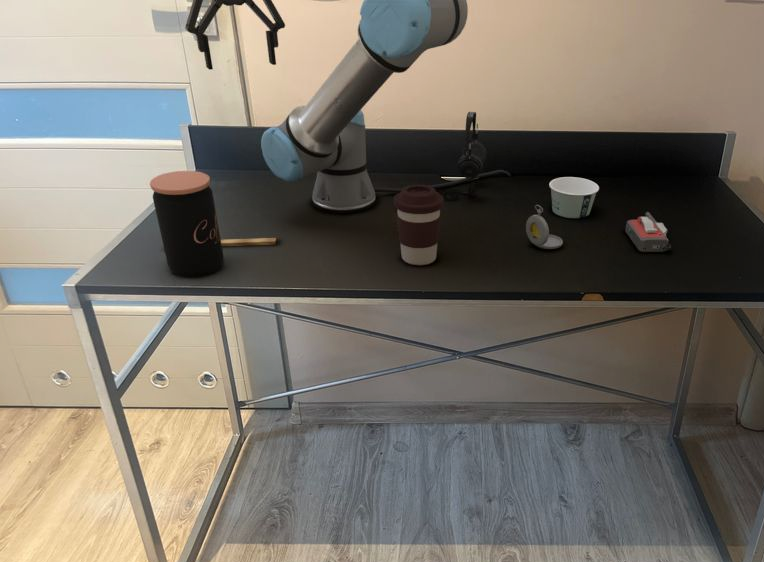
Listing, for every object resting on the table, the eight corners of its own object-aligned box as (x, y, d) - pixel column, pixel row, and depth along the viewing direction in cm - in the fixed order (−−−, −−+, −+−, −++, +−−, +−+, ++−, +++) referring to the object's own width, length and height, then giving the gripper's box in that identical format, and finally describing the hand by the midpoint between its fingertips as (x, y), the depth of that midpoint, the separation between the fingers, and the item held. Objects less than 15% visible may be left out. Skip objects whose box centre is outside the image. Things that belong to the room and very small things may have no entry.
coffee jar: (207, 281, 136) (190, 193, 126) (157, 274, 137) (137, 186, 128) (234, 258, 144) (220, 173, 135) (187, 252, 146) (170, 168, 136)
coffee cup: (424, 273, 142) (424, 203, 133) (385, 260, 146) (383, 191, 138) (451, 256, 149) (453, 188, 141) (413, 244, 153) (412, 178, 145)
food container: (537, 205, 174) (539, 180, 171) (577, 199, 179) (580, 174, 175) (564, 223, 166) (567, 197, 162) (605, 216, 170) (609, 190, 167)
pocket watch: (565, 241, 157) (570, 198, 152) (556, 256, 150) (561, 212, 145) (530, 235, 159) (533, 193, 154) (520, 249, 153) (523, 206, 147)
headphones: (444, 179, 188) (446, 103, 177) (486, 183, 187) (490, 106, 176) (435, 200, 175) (435, 119, 164) (479, 204, 174) (483, 122, 163)
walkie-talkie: (678, 254, 153) (650, 218, 170) (683, 235, 151) (653, 201, 167) (640, 255, 152) (614, 218, 169) (643, 236, 150) (617, 201, 167)
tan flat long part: (276, 239, 153) (276, 236, 152) (275, 246, 150) (275, 242, 150) (170, 243, 149) (170, 240, 149) (167, 250, 147) (167, 246, 146)
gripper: (282, -49, 148) (292, 58, 160) (157, -48, 138) (178, 66, 149) (292, -46, 143) (303, 65, 154) (164, -45, 132) (185, 73, 144)
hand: (241, 66), depth 152 cm, fingers open, 13 cm apart
